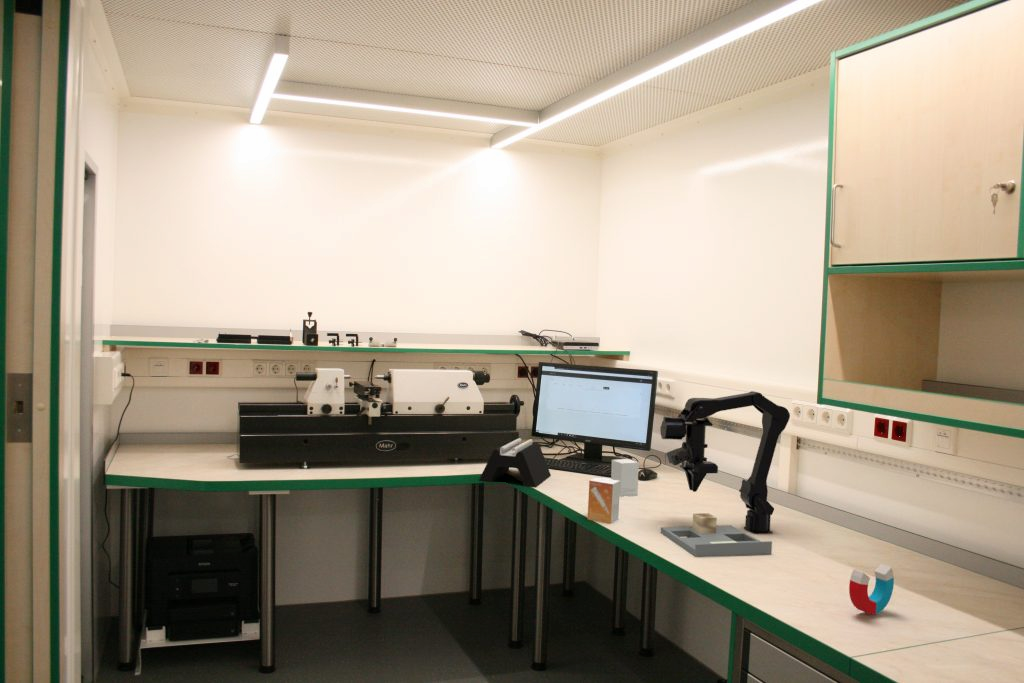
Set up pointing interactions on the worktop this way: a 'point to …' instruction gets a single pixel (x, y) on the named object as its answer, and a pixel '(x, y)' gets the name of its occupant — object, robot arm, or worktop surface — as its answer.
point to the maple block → (704, 523)
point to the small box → (603, 500)
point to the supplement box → (626, 476)
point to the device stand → (518, 463)
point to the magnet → (878, 596)
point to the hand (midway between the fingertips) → (693, 490)
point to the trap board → (717, 541)
